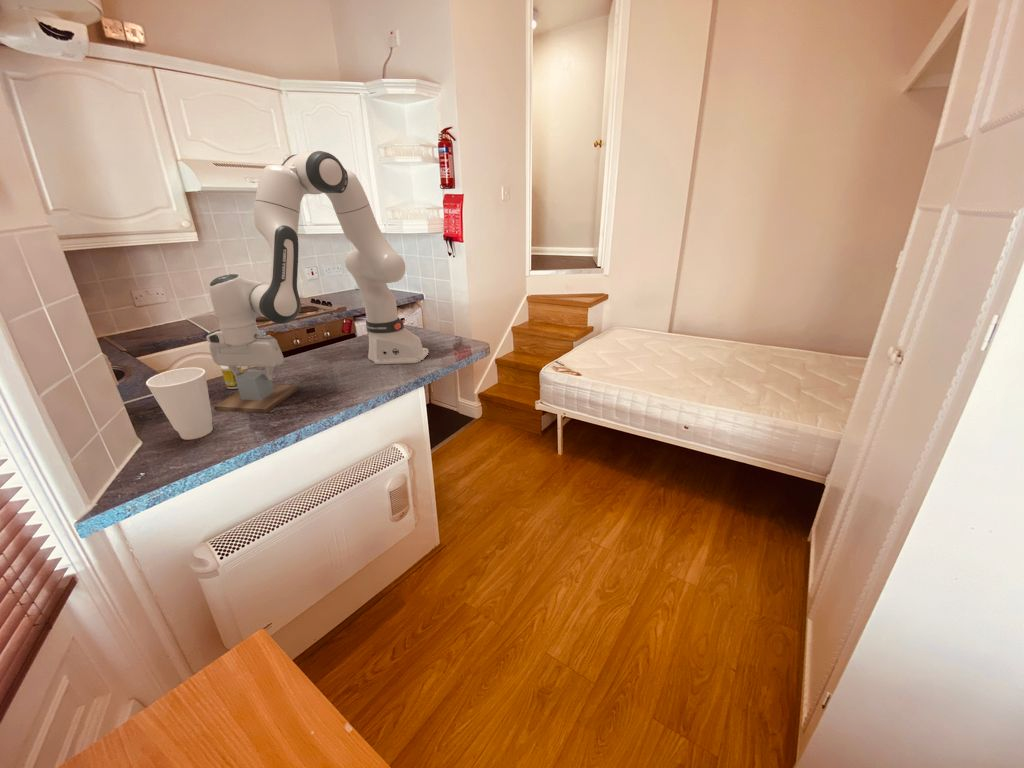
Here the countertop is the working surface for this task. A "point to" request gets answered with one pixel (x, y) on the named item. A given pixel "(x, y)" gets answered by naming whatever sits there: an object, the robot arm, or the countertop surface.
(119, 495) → the countertop surface
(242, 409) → the post base
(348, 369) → the countertop surface
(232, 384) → the supplement bottle
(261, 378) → the pale grey cube
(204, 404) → the cup
